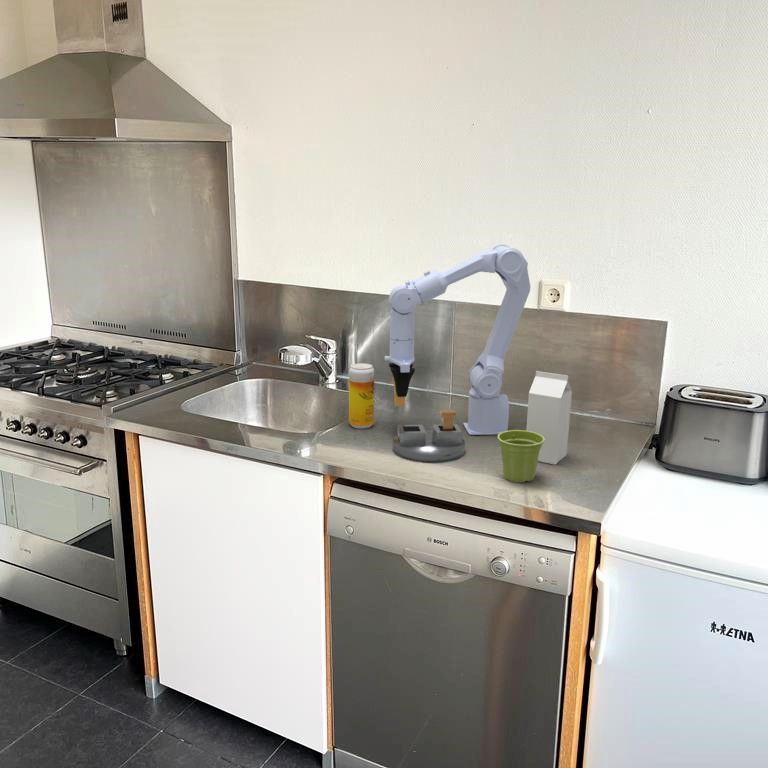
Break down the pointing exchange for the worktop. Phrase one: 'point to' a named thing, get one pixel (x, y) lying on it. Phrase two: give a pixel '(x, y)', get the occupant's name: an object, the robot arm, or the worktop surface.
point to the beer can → (361, 395)
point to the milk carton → (550, 414)
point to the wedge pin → (398, 400)
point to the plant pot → (520, 454)
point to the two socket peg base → (430, 441)
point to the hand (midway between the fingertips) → (401, 394)
